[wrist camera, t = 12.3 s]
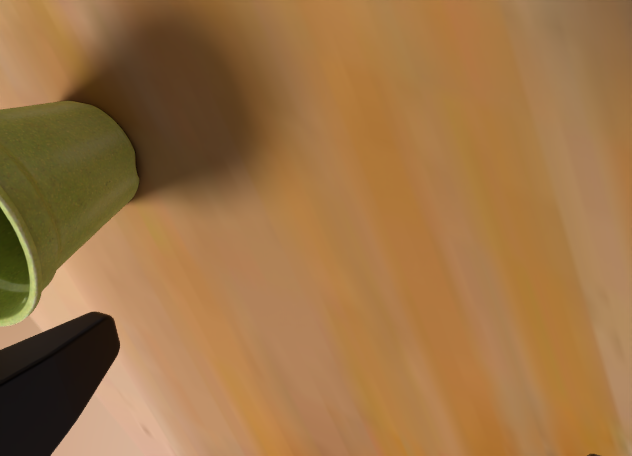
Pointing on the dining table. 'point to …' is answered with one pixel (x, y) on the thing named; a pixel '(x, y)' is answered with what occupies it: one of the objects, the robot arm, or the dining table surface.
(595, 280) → the dining table surface
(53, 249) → the plant pot
